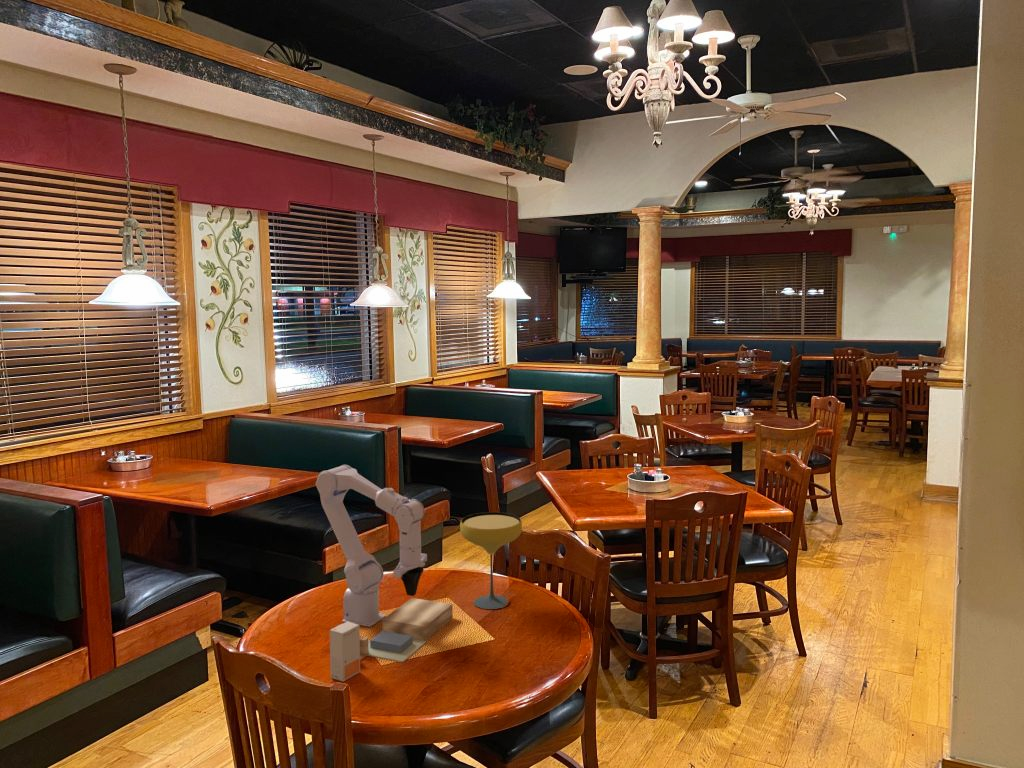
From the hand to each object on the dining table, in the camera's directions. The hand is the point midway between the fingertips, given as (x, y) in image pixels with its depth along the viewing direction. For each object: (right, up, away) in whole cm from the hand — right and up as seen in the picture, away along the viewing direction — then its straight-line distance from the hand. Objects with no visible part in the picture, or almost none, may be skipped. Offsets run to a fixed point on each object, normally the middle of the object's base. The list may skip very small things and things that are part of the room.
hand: (411, 594), depth 206 cm
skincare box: (-13, -13, -24) cm, 30 cm away
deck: (+1, -10, +4) cm, 10 cm away
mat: (-4, -11, -10) cm, 15 cm away
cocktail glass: (+21, -8, +19) cm, 30 cm away
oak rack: (-13, -12, -15) cm, 23 cm away
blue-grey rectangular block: (-4, -9, -9) cm, 13 cm away
